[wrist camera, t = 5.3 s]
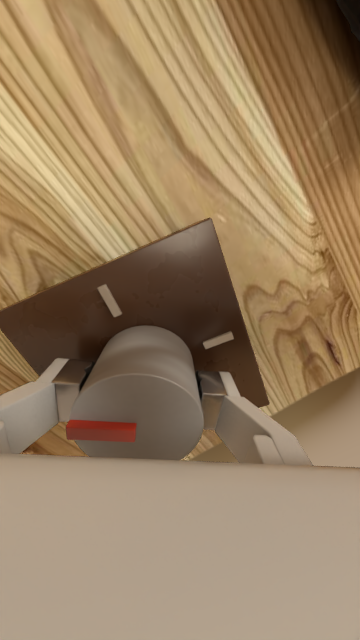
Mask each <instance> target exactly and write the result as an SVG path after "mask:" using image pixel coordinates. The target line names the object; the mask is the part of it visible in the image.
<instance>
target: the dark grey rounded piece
mask: <svg viewBox="0 0 360 640" xmlns="http://www.w3.org/2000/svg"><path fill="white" fill-rule="evenodd" d="M336 1H337V4H338V6H339V8H340V9H341V11H342V12H343V14H344V15H345V17H346V19H347V20H348V22H349V23H350V28H351V33H354V35H355V36H356V37H357V39H358V40H359V42H360V0H336Z"/></svg>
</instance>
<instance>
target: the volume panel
mask: <svg viewBox="0 0 360 640" xmlns="http://www.w3.org/2000/svg"><path fill="white" fill-rule="evenodd" d="M143 325H147V326H156V327H160V328H164V329H166V330H169V331H171V332H172V333H174V334H176V335H177V336H178V337H180V338H181V339H182V340H183V341H184V343H185V344H186V345H187V347H188V348H189V350H190V352H191V355H192V359H193V364H194V370H195V373H196V370H201V371H215V372H218V371H219V372H229V373H230V374H231V376H232V378H233V381H234V383H235V385H236V387H237V389H238V392H239V394H240V396H241V397H245V398H246V399H247V400H249V401H250V402H251V403H252V404H254V405H255V406H256V407H258V408H260V407H263V406H266V405H269V400H268V397H267V394H266V391H265V387H264V384H263V381H262V378H261V375H260V372H259V368H258V365H257V362H256V359H255V356H254V352H253V349H252V346H251V343H250V340H249V336H248V333H247V330H246V327H245V324H244V320H243V317H242V314H241V311H240V308H239V304H238V301H237V298H236V295H235V292H234V288H233V285H232V282H231V279H230V276H229V272H228V269H227V266H226V263H225V260H224V256H223V253H222V250H221V247H220V244H219V241H218V237H217V234H216V231H215V228H214V225H213V221H212V219H211V218H207V219H204V220H201V221H199V222H196V223H194V224H192V225H190V226H187V227H185V228H183V229H181V230H178V231H176V232H174V233H172V234H169V235H167V236H165V237H163V238H160V239H158V240H156V241H153V242H151V243H149V244H147V245H144V246H142V247H140V248H138V249H135V250H133V251H131V252H129V253H126V254H124V255H122V256H120V257H117V258H115V259H113V260H111V261H108V262H106V263H104V264H102V265H99V266H97V267H95V268H93V269H90V270H88V271H86V272H83V273H81V274H79V275H77V276H74V277H72V278H70V279H68V280H65V281H63V282H61V283H59V284H56V285H54V286H52V287H50V288H47V289H45V290H43V291H41V292H38V293H36V294H34V295H32V296H29V297H27V298H25V299H23V300H21V301H19V302H17V303H14V304H12V305H10V306H8V307H6V308H4V309H2V310H0V330H1V331H2V332H3V333H4V334H5V336H6V337H7V338H8V339H9V340H10V342H11V343H12V344H13V345H14V346H15V348H16V349H17V350H18V351H19V352H20V354H21V355H22V356H23V357H24V358H25V360H26V361H27V362H28V363H29V364H30V366H31V367H32V368H33V369H34V370H35V372H36V373H37V374H38V375H39V376H41V375H42V374H43V372H44V371H45V370H46V369H47V368H48V367H49V366H50V365H51V364H52V362H53V361H54V360H55V359H57V358H66V359H76V360H86V361H94V362H95V363H96V362H97V360H98V358H99V356H100V355H101V353H102V351H103V349H104V347H105V346H106V344H107V343H108V342H109V340H110V339H111V338H112V337H114V336H115V335H116V334H118V333H119V332H121V331H123V330H125V329H128V328H131V327H135V326H143Z"/></svg>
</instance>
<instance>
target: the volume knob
mask: <svg viewBox="0 0 360 640" xmlns="http://www.w3.org/2000/svg"><path fill="white" fill-rule="evenodd" d="M203 427H204V418H203V412H202V407H201V402H200V396H199V391H198V386H197V380H196V375H195V370H194V364H193V359H192V355H191V352H190V350H189V348H188V347H187V345H186V344H185V343H184V341H183V340H182V339H181V338H180V337H178V336H177V335H176V334H174V333H172V332H171V331H169V330H166V329H164V328H160V327H156V326H147V325H143V326H135V327H131V328H128V329H125V330H123V331H121V332H119V333H118V334H116V335H115V336H114V337H112V338H111V339H110V340H109V342H108V343H107V344H106V346H105V347H104V349H103V351H102V353H101V355H100V356H99V358H98V360H97V362H96V364H95V365H94V367H93V369H92V371H91V373H90V375H89V376H88V378H87V380H86V382H85V384H84V385H83V387H82V389H81V391H80V393H79V394H78V396H77V398H76V400H75V402H74V403H73V406H72V408H71V411H70V416H69V422H68V424H67V426H66V434H67V439H68V440H75V442H76V444H77V445H78V446H79V448H80V449H81V450H82V451H83V452H84V453H85V454H87V455H88V456H89V457H109V458H134V459H159V460H181V459H183V458H184V457H185V456H187V455H188V454H189V453H190V452H191V451H192V450H193V449H194V448H195V446H196V445H197V444H198V442H199V440H200V438H201V435H202V432H203Z"/></svg>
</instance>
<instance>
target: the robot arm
mask: <svg viewBox="0 0 360 640" xmlns="http://www.w3.org/2000/svg"><path fill="white" fill-rule="evenodd" d="M95 364H96V363H95V362H94V361H86V360H76V359H66V358H57V359H55V360H54V361H53V362H52V364H51V365H50V366H49V367H48V368H47V369H46V370H45V371H44V372H43V374H42V375H41V376H40V377H39V378H38V379H37V380H36V381H35V382H29V383H27V384H25V385H22V386H20V387H18V388H15V389H13V390H11V391H9V392H6V393H4V394H2V395H0V640H360V468H355V467H330V466H313V465H312V463H311V461H310V460H309V458H308V456H307V455H306V453H305V451H304V450H303V448H302V447H301V445H300V443H299V442H298V440H297V439H296V437H295V436H294V435H293V434H292V433H290V432H289V431H288V430H286V429H285V428H284V427H282V426H281V425H280V424H279V423H277V422H276V421H274V420H273V419H272V418H271V417H269V416H268V415H267V414H266V413H264V412H263V411H262V410H260V409H259V408H258V407H256V406H255V405H254V404H252V403H251V402H250V401H249V400H247V399H246V398H245V397H241V396H240V394H239V392H238V389H237V387H236V385H235V383H234V381H233V378H232V376H231V374H230V373H229V372H219V371H218V372H215V371H201V370H196V373H195V375H196V380H197V386H198V391H199V396H200V402H201V407H202V412H203V418H204V427H203V429H207V430H215V432H216V433H217V435H218V436H219V437H220V438H221V440H222V441H223V442H224V443H225V445H226V446H227V447H228V449H229V450H230V451H231V452H232V454H233V455H234V456H235V458H236V459H237V460H238V462H239V463H229V462H206V461H182V460H159V459H134V458H109V457H84V456H59V455H34V454H20V453H21V452H22V451H24V450H25V449H26V448H27V447H29V446H30V445H31V444H32V443H34V442H35V441H36V440H37V439H39V438H40V437H41V436H42V435H44V434H45V433H46V432H47V431H49V430H50V429H51V428H52V427H54V426H55V425H56V424H58V421H59V422H69V416H70V411H71V408H72V406H73V403H74V402H75V400H76V398H77V396H78V394H79V393H80V391H81V389H82V387H83V385H84V384H85V382H86V380H87V378H88V376H89V375H90V373H91V371H92V369H93V367H94V365H95Z"/></svg>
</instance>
